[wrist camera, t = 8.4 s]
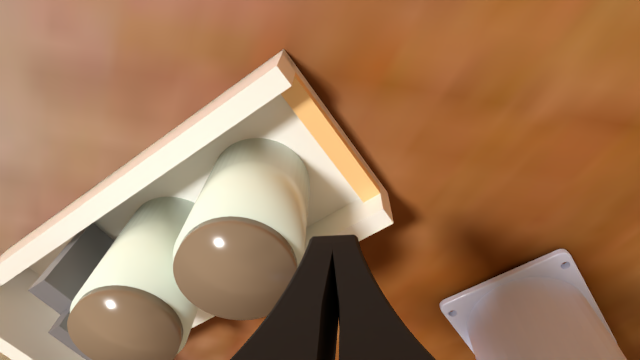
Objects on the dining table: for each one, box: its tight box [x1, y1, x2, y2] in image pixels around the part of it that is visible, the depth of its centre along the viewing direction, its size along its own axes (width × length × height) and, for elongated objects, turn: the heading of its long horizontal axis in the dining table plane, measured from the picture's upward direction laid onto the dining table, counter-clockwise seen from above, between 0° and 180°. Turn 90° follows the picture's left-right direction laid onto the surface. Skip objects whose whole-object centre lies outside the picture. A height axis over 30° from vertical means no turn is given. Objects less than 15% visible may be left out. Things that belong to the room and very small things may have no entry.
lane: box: [0, 49, 394, 360], centre depth 23 cm, size 9×21×5 cm, turn 125°
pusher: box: [28, 223, 114, 360], centre depth 23 cm, size 7×1×6 cm, turn 35°
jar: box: [173, 138, 310, 320], centre depth 19 cm, size 5×5×7 cm
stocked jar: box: [67, 197, 198, 360], centre depth 21 cm, size 5×5×7 cm
